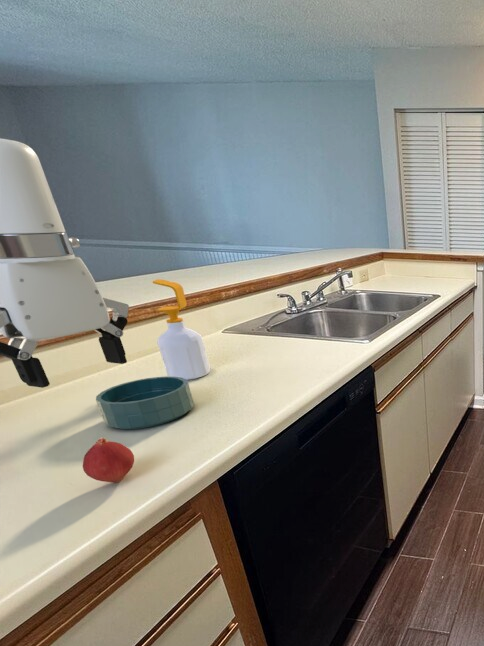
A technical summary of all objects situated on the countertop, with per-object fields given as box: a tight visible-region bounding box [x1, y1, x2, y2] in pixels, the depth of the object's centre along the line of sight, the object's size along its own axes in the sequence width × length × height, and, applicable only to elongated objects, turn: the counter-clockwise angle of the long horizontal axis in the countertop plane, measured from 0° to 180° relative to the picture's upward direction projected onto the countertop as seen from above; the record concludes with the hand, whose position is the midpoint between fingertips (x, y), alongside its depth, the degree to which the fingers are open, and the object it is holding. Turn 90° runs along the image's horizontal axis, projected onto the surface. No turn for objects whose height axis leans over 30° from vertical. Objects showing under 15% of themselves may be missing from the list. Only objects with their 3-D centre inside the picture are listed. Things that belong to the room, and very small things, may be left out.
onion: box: [82, 436, 135, 484], centre depth 66 cm, size 6×6×8 cm
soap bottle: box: [152, 278, 211, 381], centre depth 106 cm, size 9×9×25 cm
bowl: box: [95, 376, 195, 430], centre depth 88 cm, size 15×15×6 cm
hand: (80, 373), depth 60 cm, fingers open, 9 cm apart
